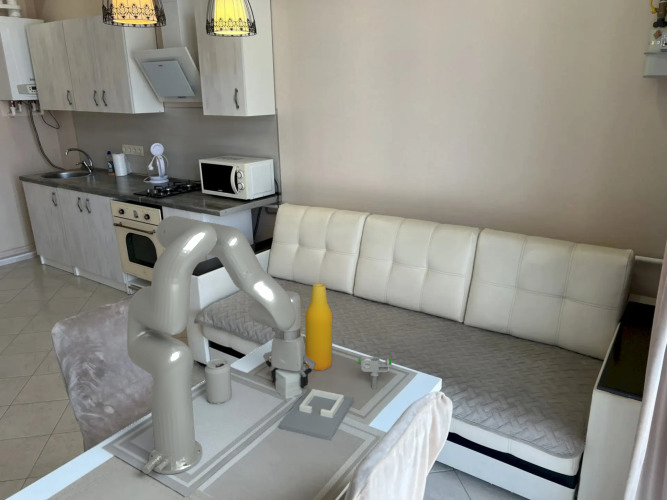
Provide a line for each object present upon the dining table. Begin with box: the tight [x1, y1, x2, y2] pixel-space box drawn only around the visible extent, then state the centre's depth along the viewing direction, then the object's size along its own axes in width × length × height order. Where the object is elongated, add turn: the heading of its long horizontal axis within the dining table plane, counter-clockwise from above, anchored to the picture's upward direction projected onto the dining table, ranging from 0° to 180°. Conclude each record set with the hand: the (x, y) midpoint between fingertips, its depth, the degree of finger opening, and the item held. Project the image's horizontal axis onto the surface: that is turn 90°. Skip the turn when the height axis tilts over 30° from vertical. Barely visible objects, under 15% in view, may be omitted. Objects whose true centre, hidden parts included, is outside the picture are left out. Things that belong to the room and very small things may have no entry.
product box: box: [275, 369, 303, 400], centre depth 151 cm, size 6×6×7 cm
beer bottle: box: [304, 282, 333, 371], centre depth 165 cm, size 9×9×29 cm
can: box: [204, 357, 233, 405], centre depth 146 cm, size 8×8×12 cm
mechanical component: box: [357, 356, 392, 390], centre depth 153 cm, size 3×10×10 cm, turn 89°
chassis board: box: [278, 388, 355, 442], centre depth 140 cm, size 20×15×3 cm
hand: (289, 383), depth 151 cm, fingers open, 9 cm apart
